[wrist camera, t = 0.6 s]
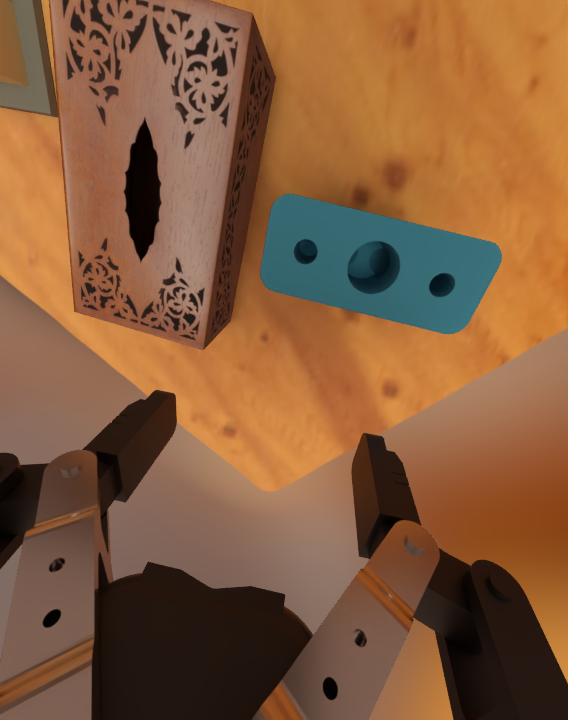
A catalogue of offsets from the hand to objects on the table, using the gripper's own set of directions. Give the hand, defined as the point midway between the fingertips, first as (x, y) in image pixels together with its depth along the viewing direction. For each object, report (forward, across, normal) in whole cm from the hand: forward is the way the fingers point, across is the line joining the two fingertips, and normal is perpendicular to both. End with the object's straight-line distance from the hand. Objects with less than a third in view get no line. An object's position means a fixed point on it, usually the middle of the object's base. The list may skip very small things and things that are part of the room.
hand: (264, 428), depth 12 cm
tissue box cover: (+28, +15, -7) cm, 32 cm away
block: (+27, -4, -6) cm, 28 cm away
